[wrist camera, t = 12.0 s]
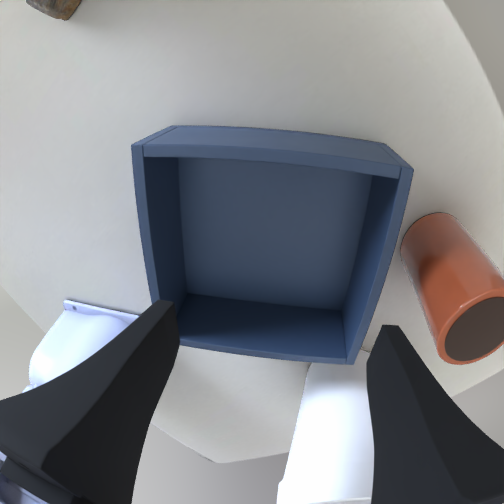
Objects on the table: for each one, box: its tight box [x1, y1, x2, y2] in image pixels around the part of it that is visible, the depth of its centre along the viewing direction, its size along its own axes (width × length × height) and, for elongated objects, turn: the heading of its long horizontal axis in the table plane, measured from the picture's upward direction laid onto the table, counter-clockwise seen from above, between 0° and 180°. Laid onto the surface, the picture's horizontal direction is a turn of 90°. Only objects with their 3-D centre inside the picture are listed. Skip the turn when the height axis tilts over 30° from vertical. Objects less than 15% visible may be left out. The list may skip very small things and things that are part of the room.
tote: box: [131, 126, 414, 365], centre depth 18 cm, size 12×12×5 cm
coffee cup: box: [400, 213, 504, 365], centre depth 15 cm, size 5×5×8 cm
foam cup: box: [277, 349, 374, 504], centre depth 20 cm, size 10×9×13 cm
